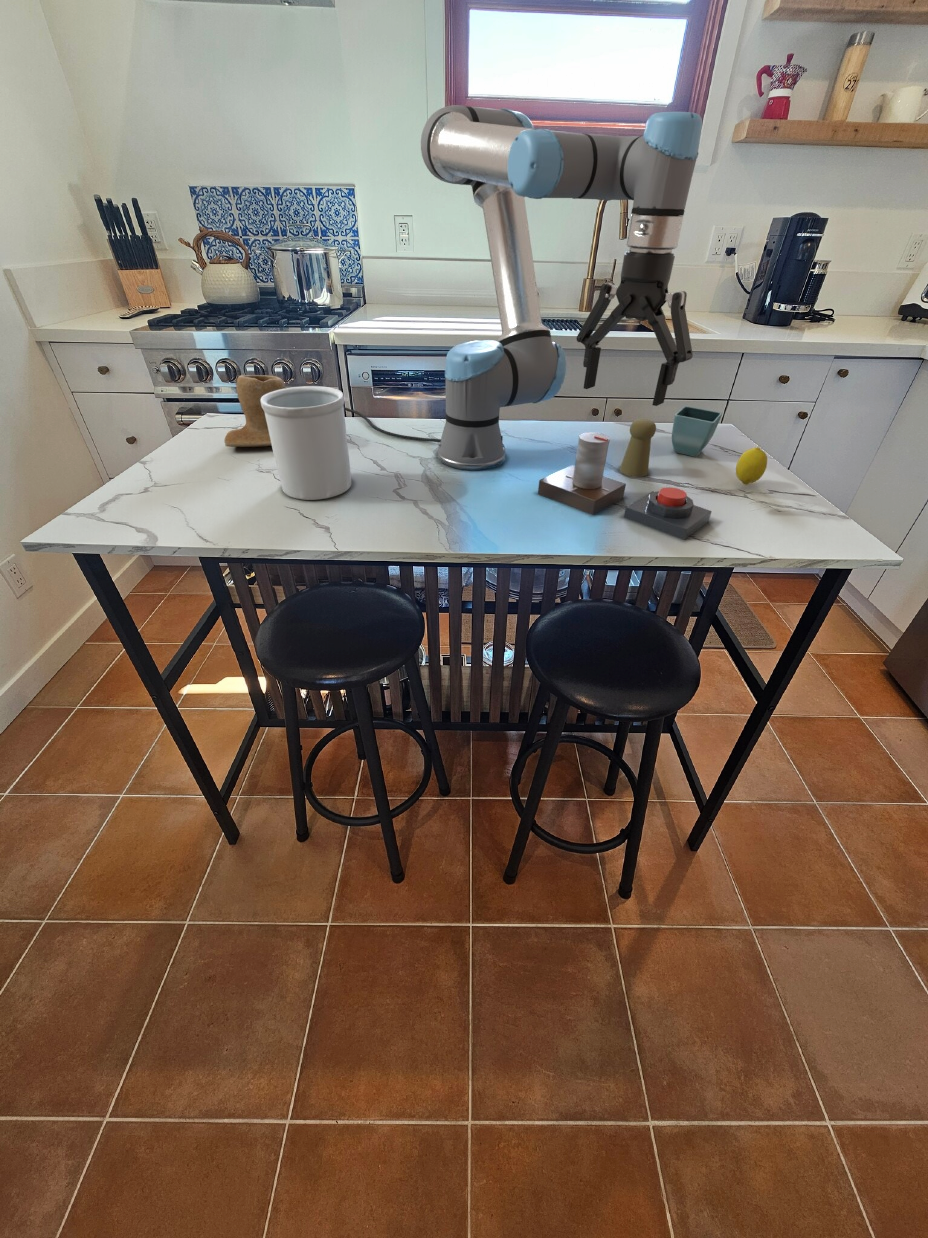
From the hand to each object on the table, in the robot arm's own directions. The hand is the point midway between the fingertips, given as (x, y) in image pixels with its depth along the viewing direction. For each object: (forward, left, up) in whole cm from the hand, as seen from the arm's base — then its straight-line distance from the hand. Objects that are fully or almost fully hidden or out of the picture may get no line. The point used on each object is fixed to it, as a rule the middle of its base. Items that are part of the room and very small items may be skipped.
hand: (622, 395), depth 96 cm
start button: (+13, +1, -16) cm, 21 cm away
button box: (+13, +1, -20) cm, 24 cm away
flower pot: (0, +37, -20) cm, 42 cm away
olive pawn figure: (-3, +17, -20) cm, 26 cm away
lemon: (+17, +28, -20) cm, 38 cm away
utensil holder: (-44, -37, -20) cm, 61 cm away
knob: (-3, -2, -17) cm, 17 cm away
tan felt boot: (-73, -32, -20) cm, 82 cm away
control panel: (-4, -2, -20) cm, 20 cm away
